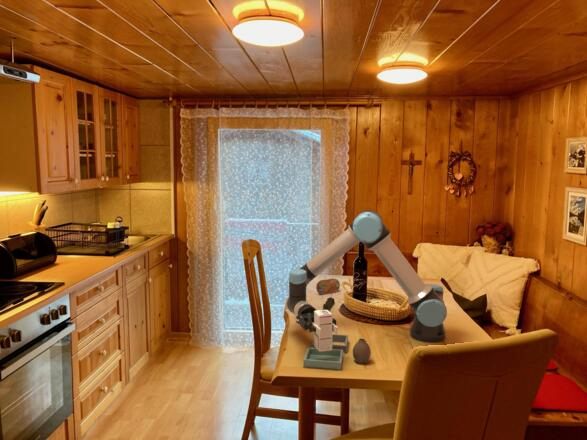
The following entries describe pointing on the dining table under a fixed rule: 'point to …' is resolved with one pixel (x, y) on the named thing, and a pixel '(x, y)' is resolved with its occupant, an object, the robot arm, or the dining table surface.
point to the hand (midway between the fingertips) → (328, 331)
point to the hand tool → (328, 303)
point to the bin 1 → (338, 339)
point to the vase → (361, 351)
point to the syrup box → (323, 330)
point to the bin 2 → (323, 359)
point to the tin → (327, 286)
